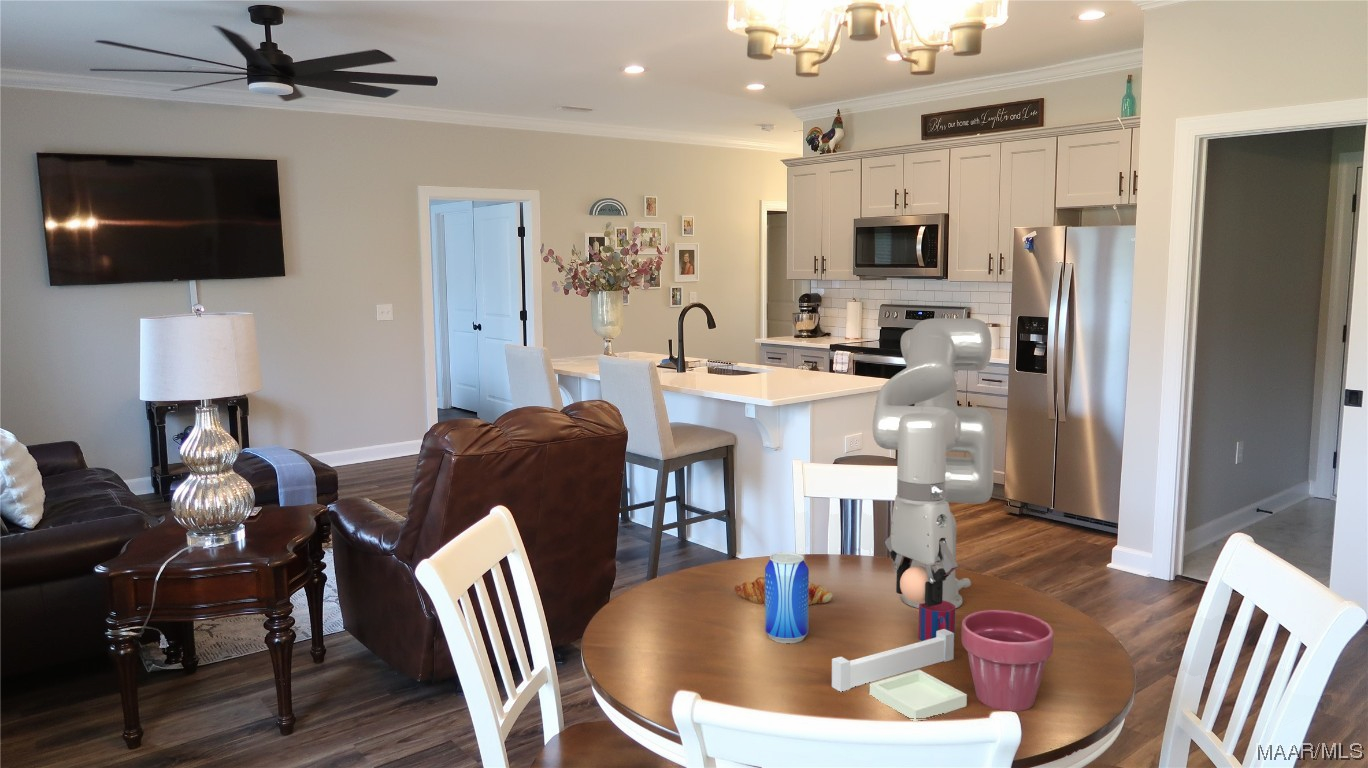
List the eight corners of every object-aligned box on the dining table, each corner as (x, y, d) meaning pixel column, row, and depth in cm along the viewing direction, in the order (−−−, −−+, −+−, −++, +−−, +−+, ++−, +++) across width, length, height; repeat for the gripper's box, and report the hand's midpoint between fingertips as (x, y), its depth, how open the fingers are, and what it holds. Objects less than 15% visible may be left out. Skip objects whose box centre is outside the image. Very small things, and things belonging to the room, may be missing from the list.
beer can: (806, 646, 173) (807, 565, 171) (762, 643, 175) (762, 562, 173) (809, 629, 181) (810, 551, 180) (767, 627, 183) (767, 549, 181)
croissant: (831, 614, 199) (832, 577, 202) (833, 608, 190) (833, 569, 193) (735, 608, 202) (737, 572, 205) (731, 602, 193) (733, 564, 196)
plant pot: (1003, 727, 142) (1006, 648, 140) (942, 690, 154) (943, 618, 153) (1070, 707, 148) (1073, 632, 146) (1005, 674, 160) (1007, 604, 159)
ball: (919, 593, 153) (919, 559, 152) (945, 604, 148) (946, 568, 147) (891, 600, 150) (892, 564, 149) (917, 611, 145) (918, 575, 144)
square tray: (918, 680, 158) (919, 669, 158) (966, 706, 149) (966, 694, 149) (869, 695, 153) (869, 683, 153) (915, 722, 143) (915, 710, 143)
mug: (952, 633, 179) (953, 600, 178) (957, 654, 169) (958, 619, 168) (917, 631, 180) (918, 598, 179) (920, 652, 170) (921, 617, 169)
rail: (943, 654, 169) (944, 628, 168) (953, 659, 167) (954, 633, 166) (831, 686, 156) (831, 658, 156) (840, 692, 154) (840, 664, 154)
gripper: (978, 498, 141) (975, 610, 143) (901, 477, 156) (900, 579, 158) (942, 504, 137) (940, 619, 140) (867, 483, 153) (866, 587, 155)
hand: (918, 597), depth 149 cm, fingers closed on ball, 5 cm apart
